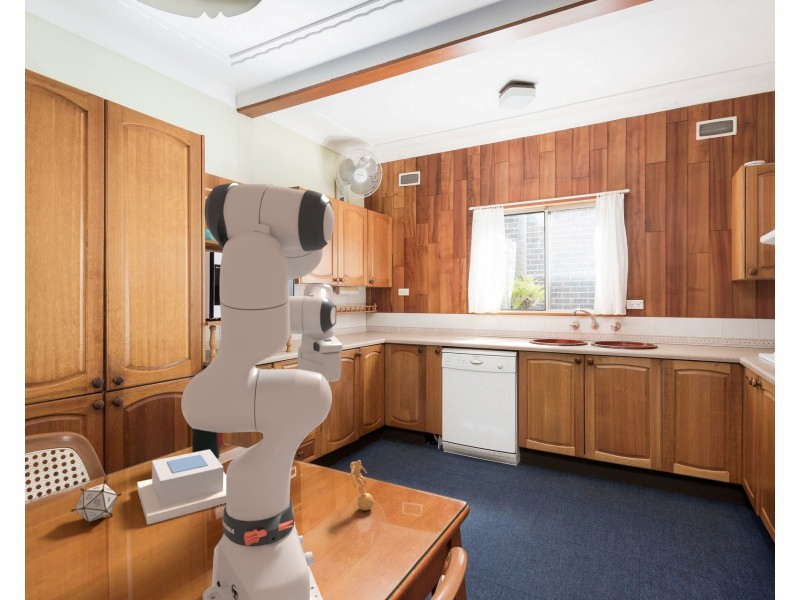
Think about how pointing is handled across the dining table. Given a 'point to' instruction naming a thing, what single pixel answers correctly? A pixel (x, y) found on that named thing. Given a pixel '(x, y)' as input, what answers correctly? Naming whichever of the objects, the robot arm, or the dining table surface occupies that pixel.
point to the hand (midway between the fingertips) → (317, 391)
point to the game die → (96, 502)
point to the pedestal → (182, 486)
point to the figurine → (361, 487)
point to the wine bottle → (206, 436)
